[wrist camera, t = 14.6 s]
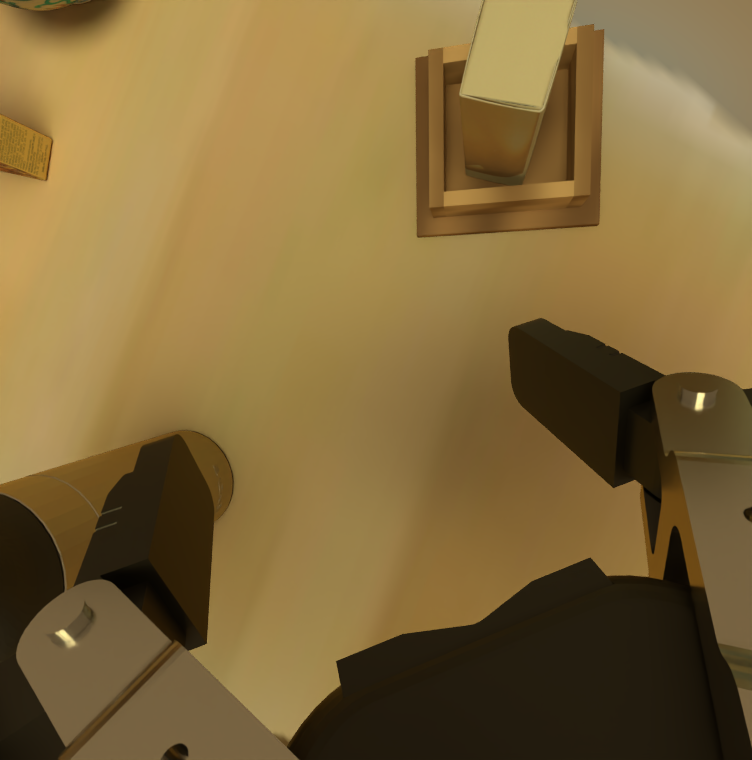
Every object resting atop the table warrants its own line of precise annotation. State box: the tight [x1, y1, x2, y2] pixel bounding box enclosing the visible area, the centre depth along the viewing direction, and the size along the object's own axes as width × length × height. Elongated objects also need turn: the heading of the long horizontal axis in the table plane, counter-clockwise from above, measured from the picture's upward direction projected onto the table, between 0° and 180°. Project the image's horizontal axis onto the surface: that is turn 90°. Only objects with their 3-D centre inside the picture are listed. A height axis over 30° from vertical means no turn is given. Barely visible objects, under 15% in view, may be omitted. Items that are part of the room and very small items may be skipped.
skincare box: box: [459, 0, 577, 186], centre depth 27 cm, size 6×4×12 cm
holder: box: [416, 24, 604, 237], centre depth 32 cm, size 13×13×3 cm
